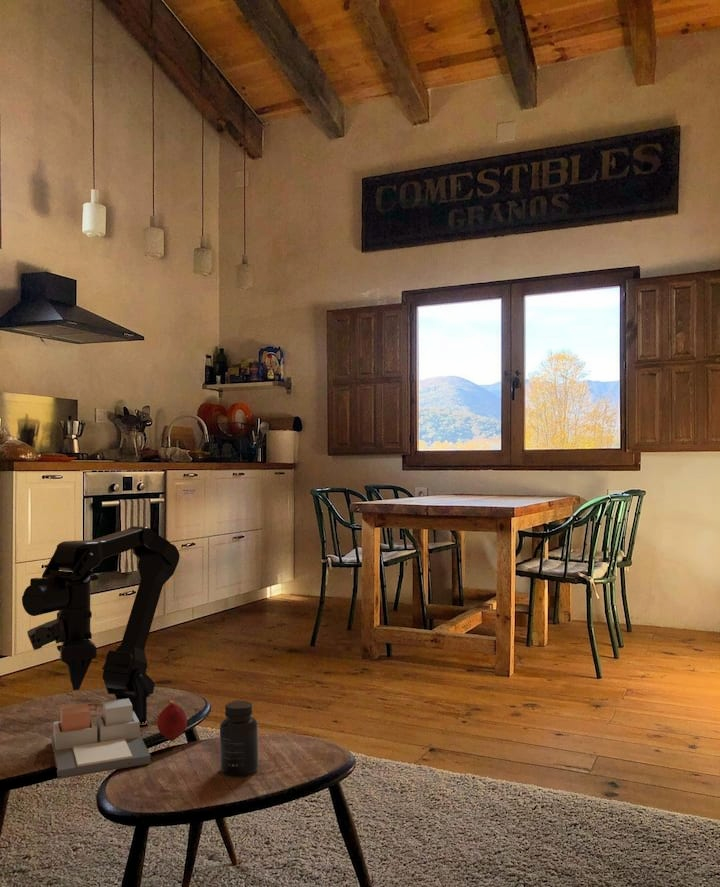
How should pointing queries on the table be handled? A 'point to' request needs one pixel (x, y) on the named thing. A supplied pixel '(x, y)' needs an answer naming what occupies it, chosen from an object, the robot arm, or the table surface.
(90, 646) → the robot arm
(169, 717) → the onion
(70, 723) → the reddish-brown block
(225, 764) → the supplement bottle
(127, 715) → the block
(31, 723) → the table surface
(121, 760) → the board
